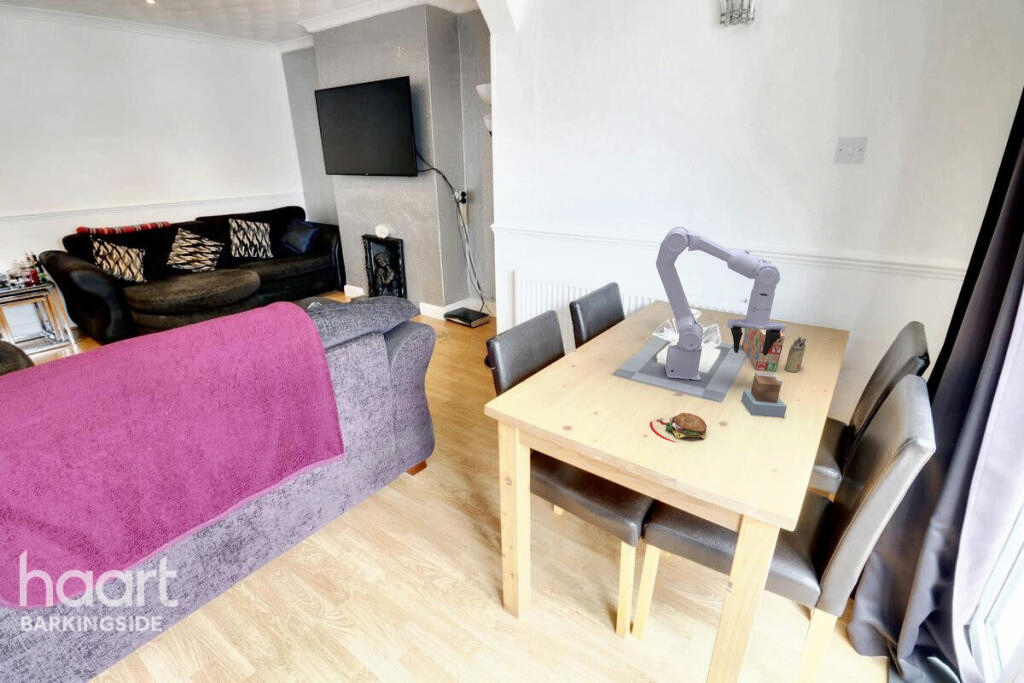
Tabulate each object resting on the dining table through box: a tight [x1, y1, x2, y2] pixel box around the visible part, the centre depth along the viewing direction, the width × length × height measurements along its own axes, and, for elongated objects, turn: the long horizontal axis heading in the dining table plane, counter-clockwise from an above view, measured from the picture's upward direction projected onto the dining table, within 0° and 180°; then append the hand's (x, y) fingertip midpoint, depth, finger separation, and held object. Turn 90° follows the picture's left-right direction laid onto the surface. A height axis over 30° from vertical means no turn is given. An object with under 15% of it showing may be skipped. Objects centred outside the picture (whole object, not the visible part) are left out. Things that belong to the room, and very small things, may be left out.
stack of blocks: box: [741, 328, 786, 373], centre depth 157 cm, size 21×6×12 cm, turn 167°
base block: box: [740, 389, 788, 418], centre depth 126 cm, size 8×8×4 cm
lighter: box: [784, 336, 807, 373], centre depth 150 cm, size 7×4×10 cm, turn 137°
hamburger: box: [649, 412, 708, 443], centre depth 116 cm, size 14×14×6 cm
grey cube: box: [754, 372, 783, 398], centre depth 135 cm, size 5×5×5 cm
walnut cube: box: [750, 374, 782, 403], centre depth 125 cm, size 5×5×5 cm
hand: (750, 353), depth 137 cm, fingers open, 7 cm apart
